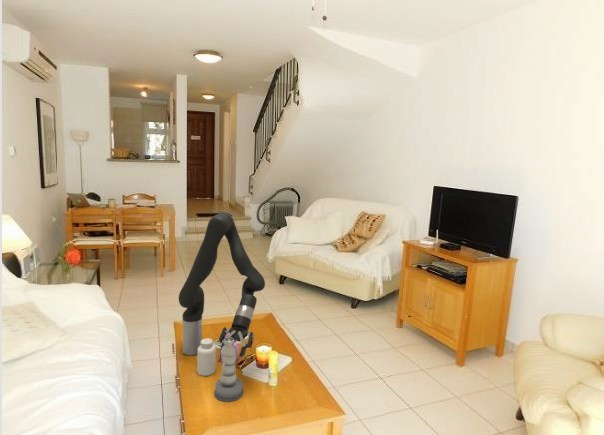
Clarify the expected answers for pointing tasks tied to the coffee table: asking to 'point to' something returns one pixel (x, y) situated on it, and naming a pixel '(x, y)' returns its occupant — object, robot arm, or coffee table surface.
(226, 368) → the plastic bottle
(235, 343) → the toy chair
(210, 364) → the pill bottle
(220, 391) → the slate plinth
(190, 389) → the coffee table surface
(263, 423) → the coffee table surface
